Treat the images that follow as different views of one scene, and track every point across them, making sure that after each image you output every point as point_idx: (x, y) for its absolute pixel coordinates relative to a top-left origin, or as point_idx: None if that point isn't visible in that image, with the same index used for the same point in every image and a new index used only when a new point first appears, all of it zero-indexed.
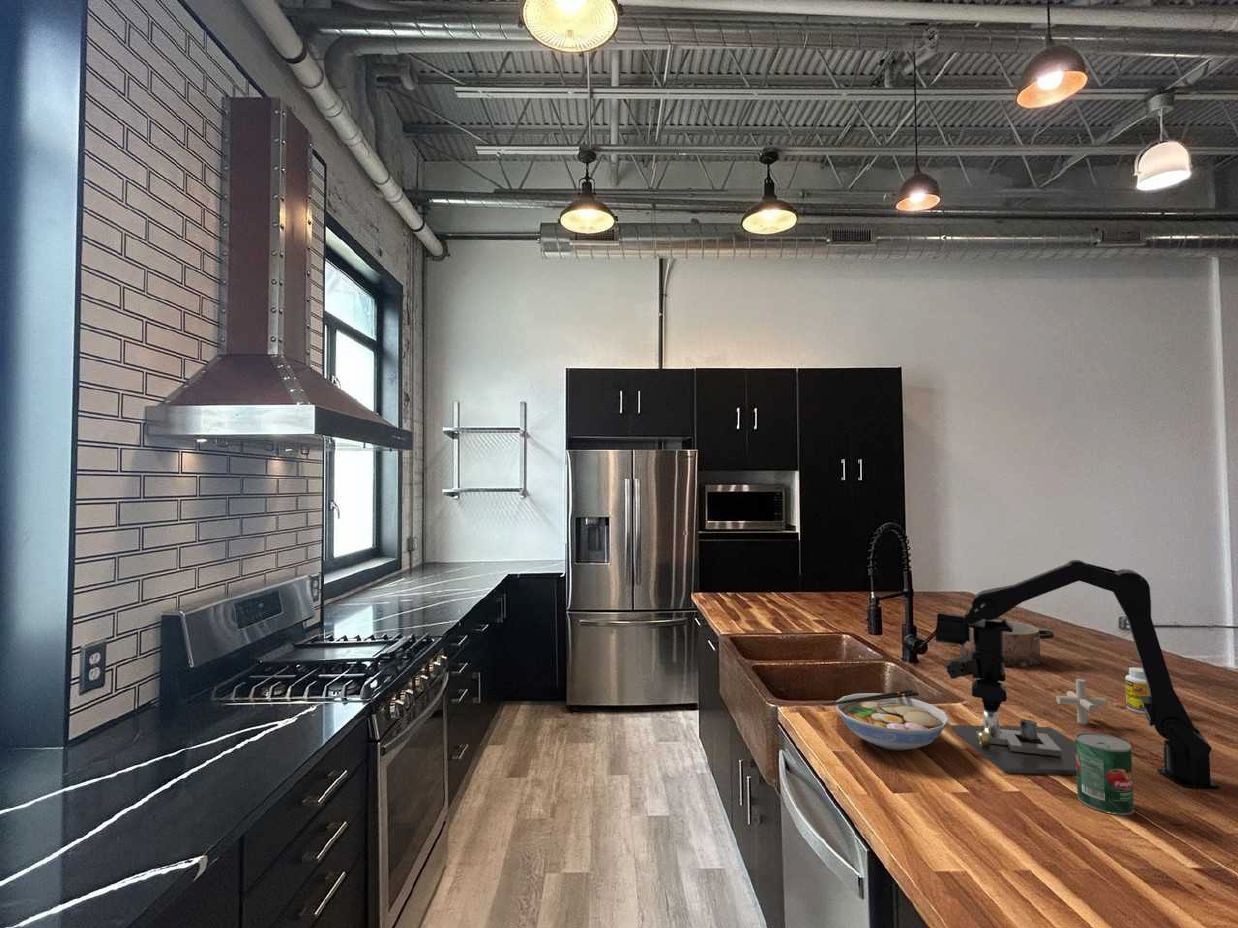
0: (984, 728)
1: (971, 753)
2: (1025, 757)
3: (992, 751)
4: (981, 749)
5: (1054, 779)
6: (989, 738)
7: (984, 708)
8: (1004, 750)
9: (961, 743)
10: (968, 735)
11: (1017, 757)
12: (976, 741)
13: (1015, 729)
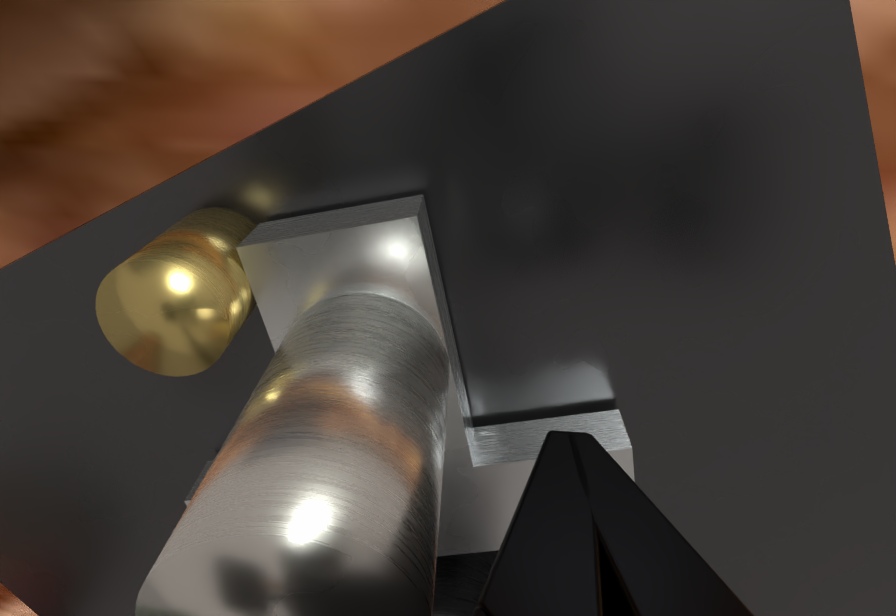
0: (295, 347)
1: (59, 116)
2: (158, 529)
3: (98, 322)
4: (79, 228)
5: (10, 597)
6: (274, 340)
7: (502, 551)
8: (202, 414)
9: (301, 5)
10: (453, 99)
11: (110, 484)
12: (292, 187)
13: (846, 531)
